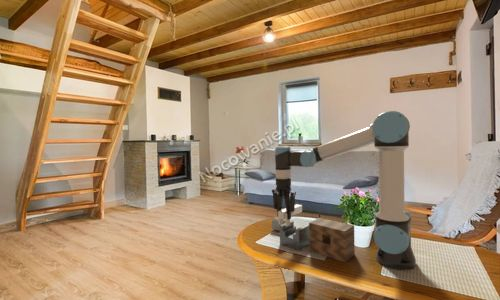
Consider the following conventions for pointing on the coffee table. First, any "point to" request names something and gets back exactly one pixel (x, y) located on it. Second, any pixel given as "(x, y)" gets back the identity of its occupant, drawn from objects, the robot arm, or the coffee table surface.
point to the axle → (297, 210)
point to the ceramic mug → (276, 223)
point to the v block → (294, 236)
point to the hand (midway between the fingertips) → (284, 224)
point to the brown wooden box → (332, 239)
